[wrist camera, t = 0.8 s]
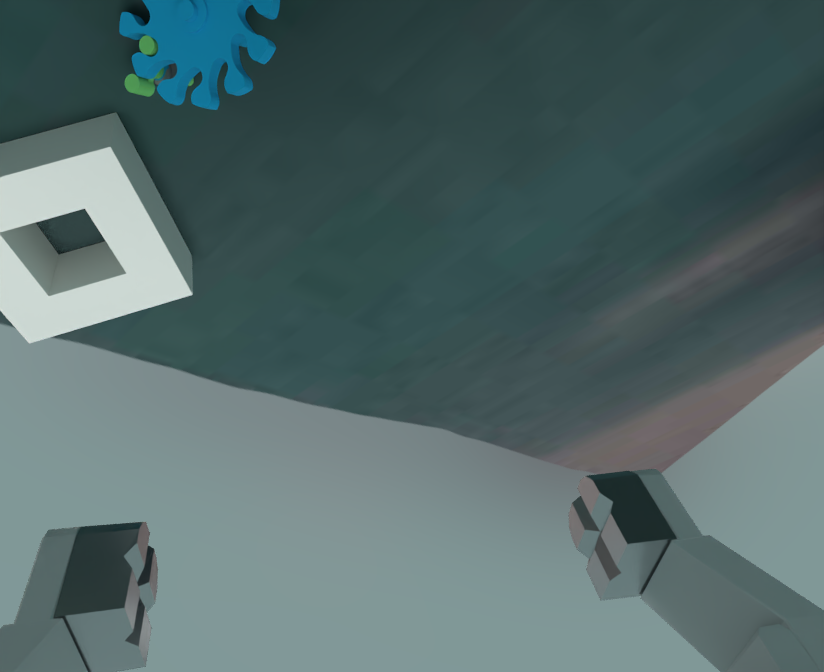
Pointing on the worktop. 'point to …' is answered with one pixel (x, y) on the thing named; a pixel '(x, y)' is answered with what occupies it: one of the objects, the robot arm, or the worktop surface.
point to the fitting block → (111, 213)
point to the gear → (195, 47)
